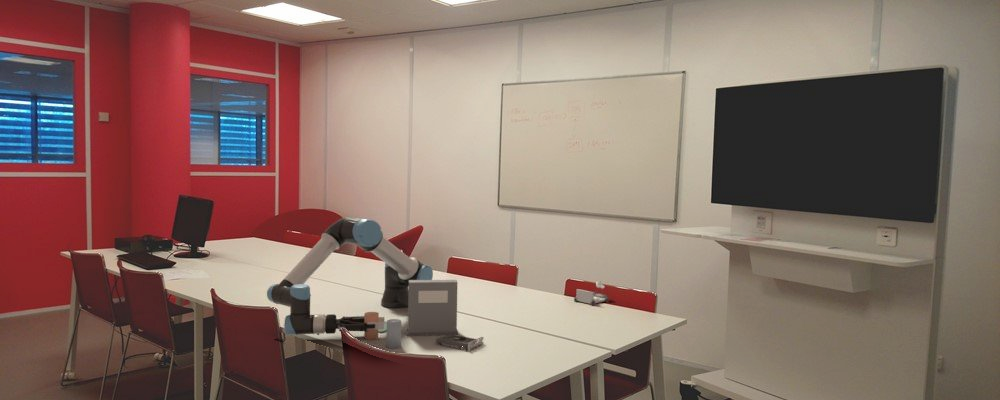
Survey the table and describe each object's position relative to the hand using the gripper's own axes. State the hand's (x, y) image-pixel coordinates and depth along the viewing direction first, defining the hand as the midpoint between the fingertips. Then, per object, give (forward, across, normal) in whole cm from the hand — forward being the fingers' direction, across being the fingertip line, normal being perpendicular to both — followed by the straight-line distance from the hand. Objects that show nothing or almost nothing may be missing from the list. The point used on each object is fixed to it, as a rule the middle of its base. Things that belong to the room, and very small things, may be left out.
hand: (384, 322), depth 246 cm
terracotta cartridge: (-5, 0, -6) cm, 8 cm away
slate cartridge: (+4, +12, -6) cm, 14 cm away
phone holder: (+106, -57, -7) cm, 121 cm away
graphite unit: (+20, -5, -6) cm, 21 cm away
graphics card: (+30, +11, -7) cm, 33 cm away
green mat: (-1, -15, -6) cm, 16 cm away
